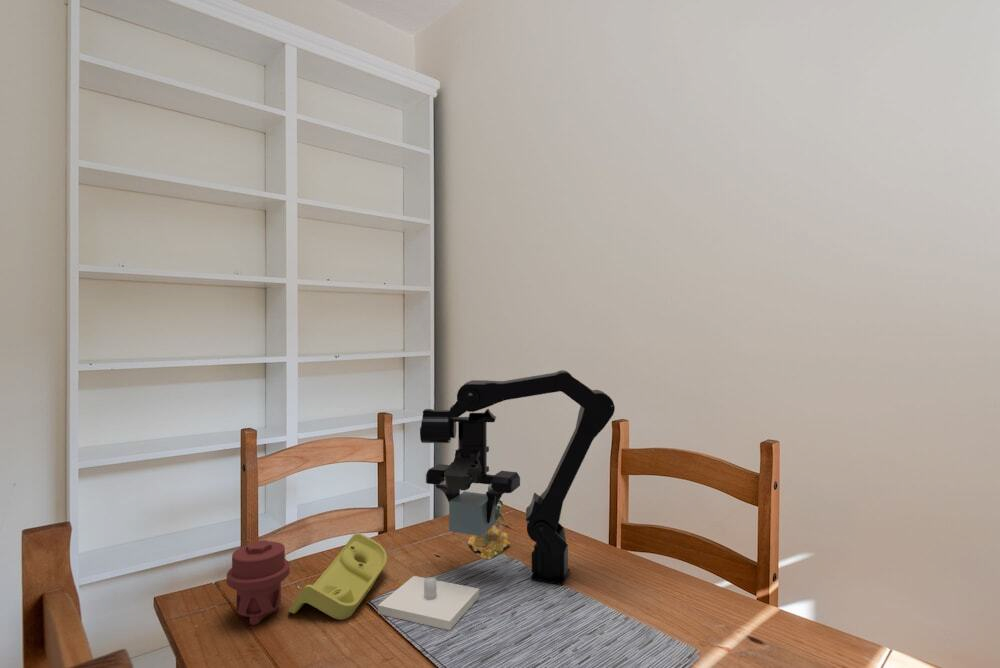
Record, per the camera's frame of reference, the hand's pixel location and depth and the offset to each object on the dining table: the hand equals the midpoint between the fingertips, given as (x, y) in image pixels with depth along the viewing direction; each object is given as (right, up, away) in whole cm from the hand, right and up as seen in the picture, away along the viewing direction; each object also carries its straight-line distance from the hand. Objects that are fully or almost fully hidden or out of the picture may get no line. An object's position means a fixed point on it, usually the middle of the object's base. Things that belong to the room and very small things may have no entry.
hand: (472, 520), depth 109 cm
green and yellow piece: (+3, -11, +16) cm, 20 cm away
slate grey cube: (0, -2, 0) cm, 2 cm away
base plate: (-7, -11, -12) cm, 18 cm away
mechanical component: (-36, -11, -15) cm, 41 cm away
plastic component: (-24, -12, -8) cm, 27 cm away
